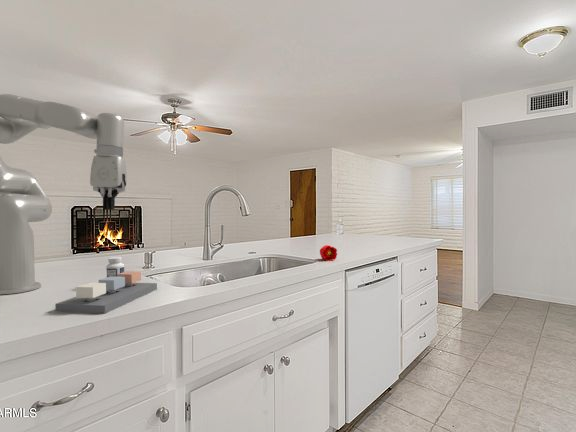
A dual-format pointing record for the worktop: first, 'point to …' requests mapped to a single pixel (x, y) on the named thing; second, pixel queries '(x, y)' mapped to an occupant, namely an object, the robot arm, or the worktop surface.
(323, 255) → the flower
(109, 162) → the robot arm
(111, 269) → the pill bottle
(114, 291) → the slate key
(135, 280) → the terracotta key
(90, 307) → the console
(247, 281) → the worktop surface
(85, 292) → the ivory key
